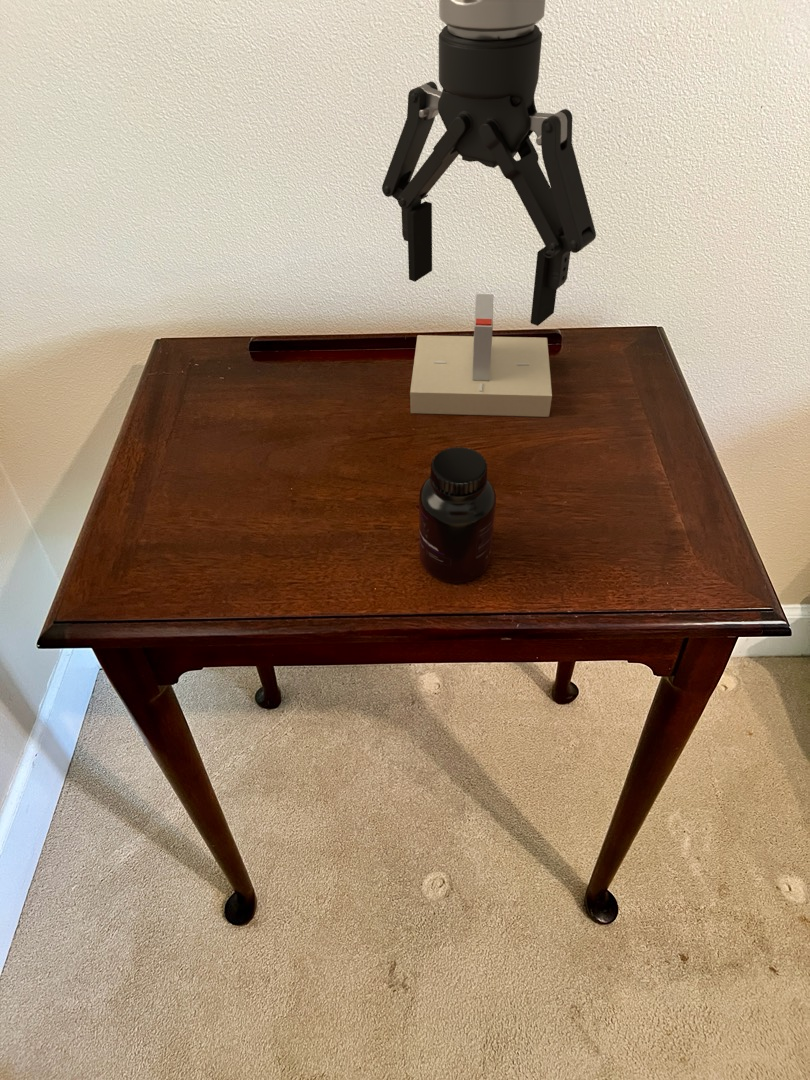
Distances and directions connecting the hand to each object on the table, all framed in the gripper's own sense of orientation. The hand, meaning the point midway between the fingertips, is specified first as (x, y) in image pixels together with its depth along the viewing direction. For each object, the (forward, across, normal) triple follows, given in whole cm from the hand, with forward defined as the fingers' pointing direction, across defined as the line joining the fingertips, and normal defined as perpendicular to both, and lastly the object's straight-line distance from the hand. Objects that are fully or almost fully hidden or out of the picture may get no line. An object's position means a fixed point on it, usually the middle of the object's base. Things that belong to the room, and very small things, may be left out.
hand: (478, 296), depth 70 cm
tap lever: (+15, -6, +11) cm, 20 cm away
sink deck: (+18, -6, +11) cm, 22 cm away
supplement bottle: (+19, +8, -14) cm, 25 cm away
